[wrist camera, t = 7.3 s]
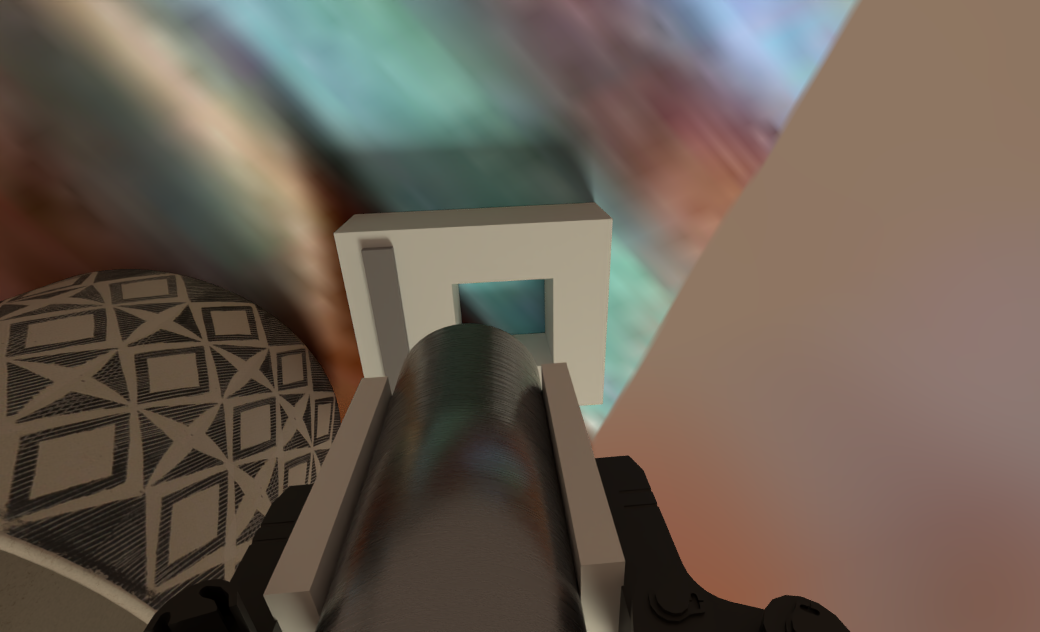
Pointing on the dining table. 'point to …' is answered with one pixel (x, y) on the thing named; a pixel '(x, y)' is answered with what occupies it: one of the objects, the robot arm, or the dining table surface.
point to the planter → (143, 443)
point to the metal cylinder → (459, 501)
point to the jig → (479, 280)
